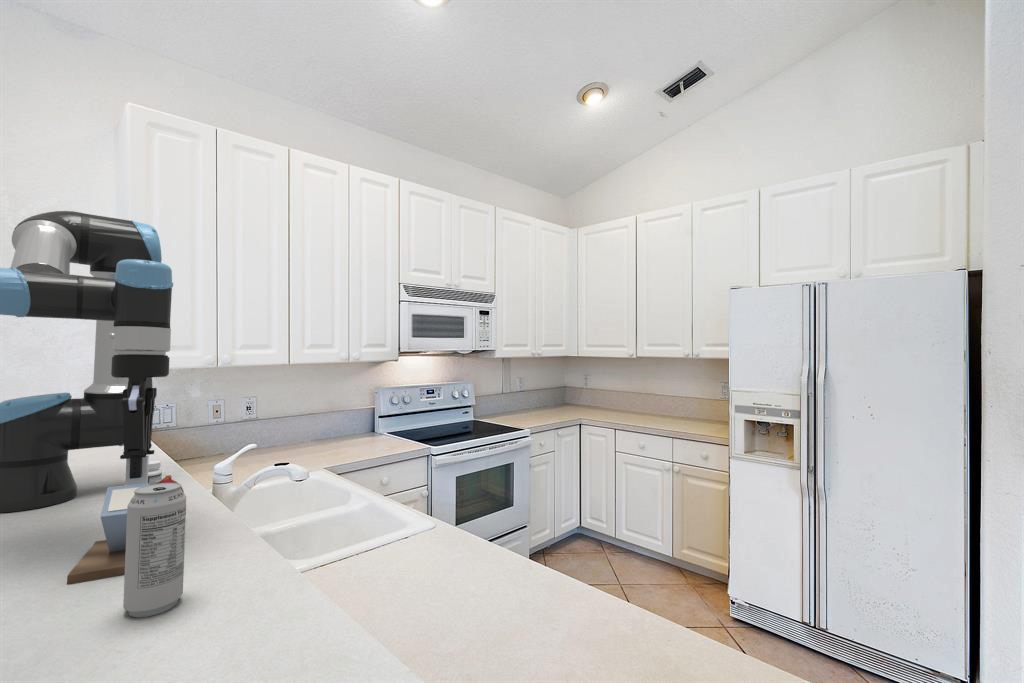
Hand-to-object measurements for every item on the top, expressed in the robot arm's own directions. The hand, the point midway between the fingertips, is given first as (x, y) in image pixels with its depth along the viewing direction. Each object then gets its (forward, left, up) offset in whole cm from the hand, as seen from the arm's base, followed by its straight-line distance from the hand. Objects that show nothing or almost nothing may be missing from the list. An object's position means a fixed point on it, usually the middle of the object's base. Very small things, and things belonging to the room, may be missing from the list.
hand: (136, 496), depth 76 cm
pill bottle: (-33, -3, -9) cm, 35 cm away
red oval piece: (-19, +2, -9) cm, 21 cm away
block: (0, 0, -6) cm, 6 cm away
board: (+3, 0, -9) cm, 9 cm away
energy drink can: (+23, +6, -9) cm, 25 cm away
